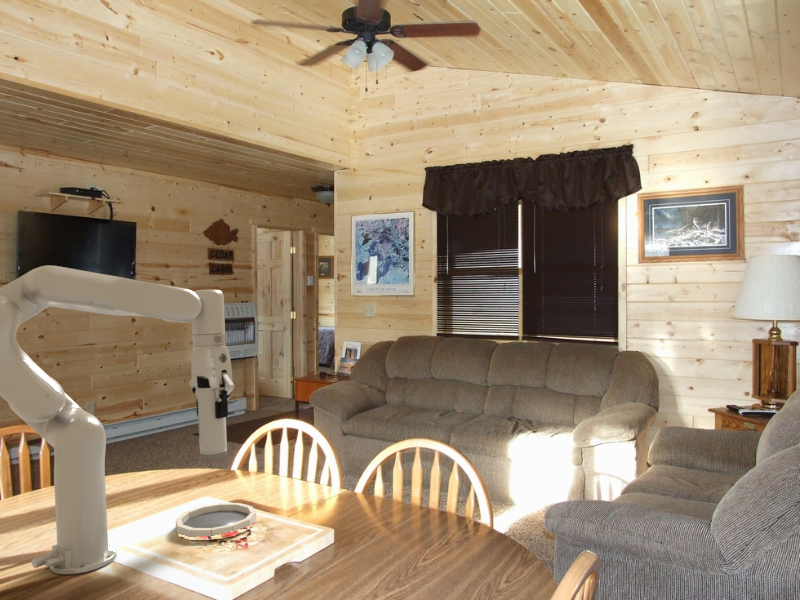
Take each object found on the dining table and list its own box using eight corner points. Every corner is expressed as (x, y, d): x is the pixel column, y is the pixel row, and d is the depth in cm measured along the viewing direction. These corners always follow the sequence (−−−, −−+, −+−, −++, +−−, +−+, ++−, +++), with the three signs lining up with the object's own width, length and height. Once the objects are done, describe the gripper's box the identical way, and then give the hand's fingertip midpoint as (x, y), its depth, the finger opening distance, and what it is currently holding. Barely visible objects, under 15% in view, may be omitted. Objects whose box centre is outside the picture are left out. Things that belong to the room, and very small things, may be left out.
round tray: (209, 547, 139) (209, 535, 139) (161, 531, 149) (160, 520, 149) (270, 520, 153) (270, 510, 153) (222, 508, 164) (222, 498, 164)
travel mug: (231, 451, 154) (228, 370, 154) (221, 459, 147) (217, 373, 147) (206, 452, 155) (203, 370, 154) (195, 459, 148) (191, 374, 148)
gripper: (245, 340, 149) (248, 416, 149) (199, 339, 159) (202, 410, 159) (219, 343, 142) (223, 422, 143) (173, 342, 153) (176, 416, 153)
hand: (212, 415), depth 151 cm, fingers closed on travel mug, 6 cm apart
